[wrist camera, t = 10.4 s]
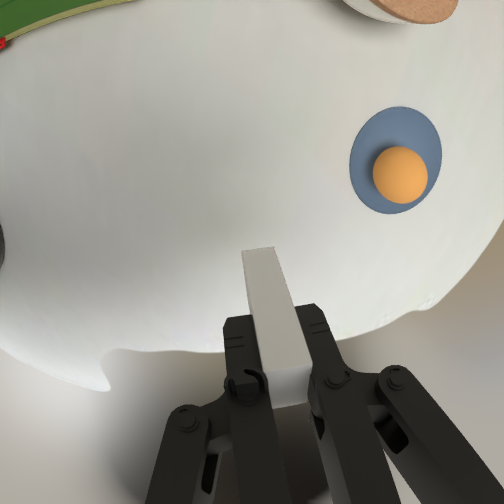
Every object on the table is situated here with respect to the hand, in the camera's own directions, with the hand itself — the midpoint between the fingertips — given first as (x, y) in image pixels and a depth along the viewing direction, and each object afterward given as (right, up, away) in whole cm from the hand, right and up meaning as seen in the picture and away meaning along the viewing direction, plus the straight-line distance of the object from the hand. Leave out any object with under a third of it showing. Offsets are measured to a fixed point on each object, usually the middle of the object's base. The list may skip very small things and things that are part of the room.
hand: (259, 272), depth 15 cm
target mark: (+15, +10, +13) cm, 22 cm away
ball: (+14, +8, +11) cm, 19 cm away
